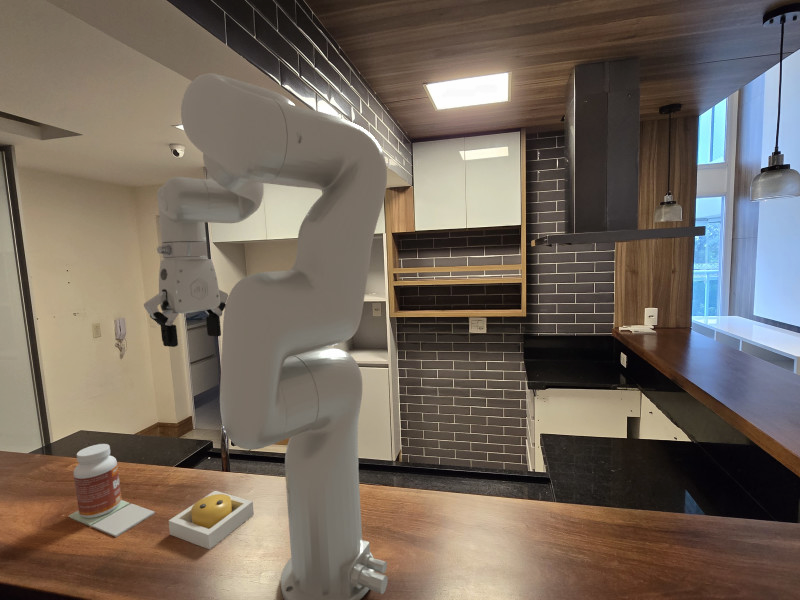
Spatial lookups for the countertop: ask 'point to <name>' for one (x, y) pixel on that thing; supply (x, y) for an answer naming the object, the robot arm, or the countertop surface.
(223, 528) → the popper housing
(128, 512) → the grey square tile
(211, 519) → the dome
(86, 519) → the pale green square tile
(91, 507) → the pill bottle
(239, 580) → the countertop surface
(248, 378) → the robot arm
